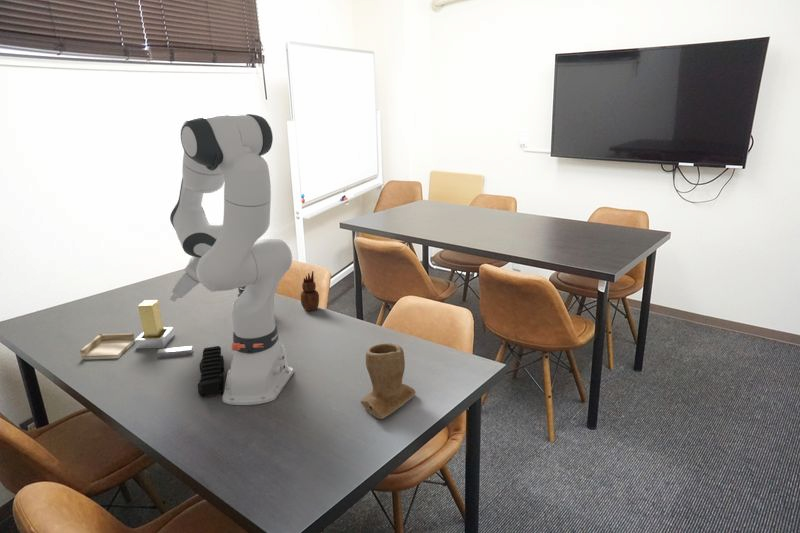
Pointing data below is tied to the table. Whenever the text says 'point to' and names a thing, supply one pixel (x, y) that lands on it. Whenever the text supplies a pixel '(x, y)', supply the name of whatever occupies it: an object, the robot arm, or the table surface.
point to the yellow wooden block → (151, 319)
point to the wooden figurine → (309, 294)
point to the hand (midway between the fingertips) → (178, 293)
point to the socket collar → (155, 339)
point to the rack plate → (108, 346)
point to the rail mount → (211, 372)
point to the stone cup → (386, 380)
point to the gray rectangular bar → (174, 351)
